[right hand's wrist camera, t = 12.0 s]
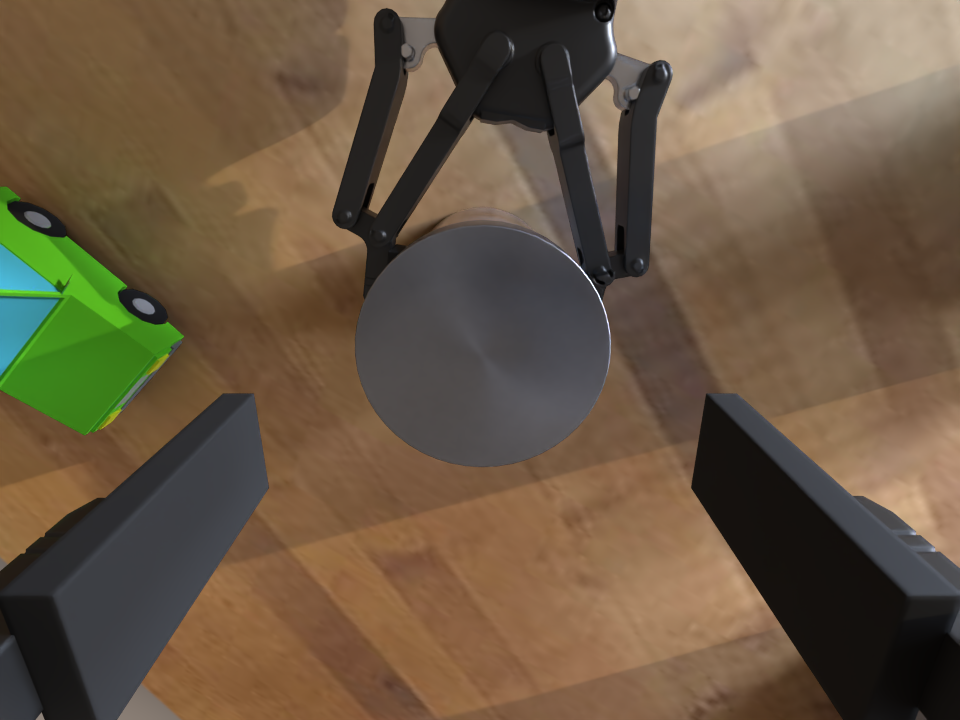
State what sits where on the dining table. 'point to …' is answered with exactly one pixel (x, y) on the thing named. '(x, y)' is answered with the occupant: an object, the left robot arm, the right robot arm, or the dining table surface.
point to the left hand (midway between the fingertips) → (469, 375)
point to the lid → (482, 344)
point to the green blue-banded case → (71, 324)
